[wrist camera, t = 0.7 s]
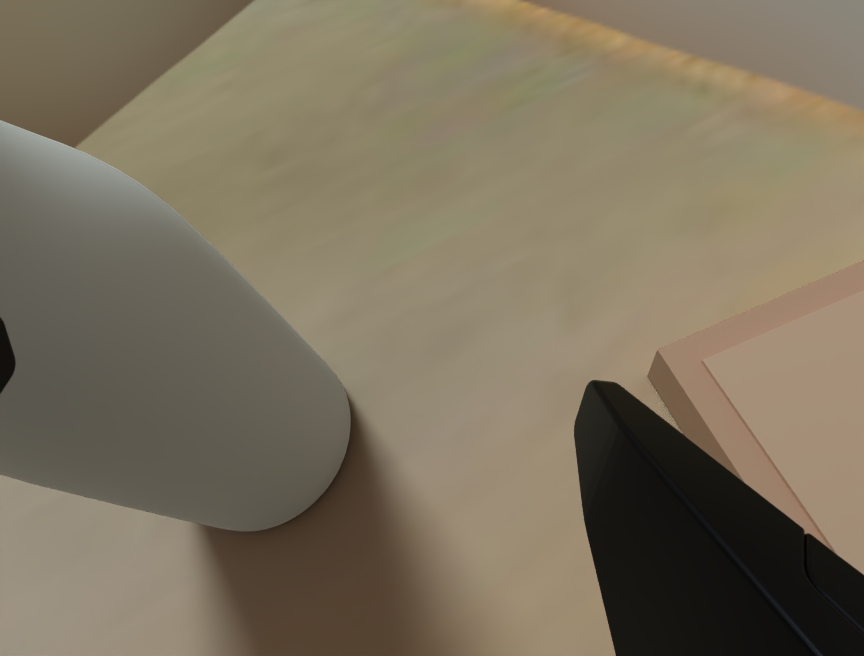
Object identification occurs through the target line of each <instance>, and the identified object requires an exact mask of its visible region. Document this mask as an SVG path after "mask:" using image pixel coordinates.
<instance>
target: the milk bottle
mask: <svg viewBox="0 0 864 656" xmlns="http://www.w3.org/2000/svg"><path fill="white" fill-rule="evenodd" d="M0 317H1V319H2V320H3V321H4V324H5V327H6V330H7V333H8V336H9V339H10V343H11V346H12V349H13V352H14V355H15V359H16V366H15V371H14V373H13V375H12V377H11V379H10V380H9V382H8V383H7V385H6V386H5V388H4V389H3V391H2V392H1V394H0V475H4V476H7V477H11V478H14V479H18V480H21V481H24V482H28V483H31V484H35V485H39V486H43V487H47V488H51V489H55V490H59V491H64V492H68V493H72V494H76V495H80V496H84V497H88V498H92V499H96V500H100V501H104V502H108V503H112V504H116V505H120V506H125V507H129V508H133V509H137V510H142V511H146V512H150V513H155V514H159V515H163V516H167V517H172V518H176V519H180V520H185V521H189V522H193V523H198V524H202V525H207V526H211V527H216V528H220V529H226V530H233V531H242V532H250V531H260V530H265V529H269V528H272V527H275V526H278V525H281V524H283V523H285V522H287V521H289V520H291V519H293V518H294V517H296V516H298V515H299V514H301V513H302V512H303V511H305V510H306V509H307V508H308V507H310V506H311V505H312V504H313V503H314V502H315V501H316V500H317V499H318V498H319V497H320V496H321V495H322V494H323V493H324V492H325V490H326V489H327V488H328V487H329V485H330V484H331V482H332V480H333V479H334V477H335V476H336V474H337V473H338V471H339V469H340V466H341V464H342V462H343V459H344V457H345V454H346V450H347V446H348V442H349V436H350V427H351V416H350V407H349V403H348V398H347V395H346V393H345V390H344V388H343V386H342V384H341V382H340V380H339V379H338V377H337V376H336V374H335V373H334V372H333V371H332V370H331V368H330V367H329V366H328V365H327V364H326V362H325V361H324V360H323V359H322V358H321V357H320V356H319V355H318V354H317V353H316V352H315V351H314V350H313V348H312V347H311V346H310V345H309V344H308V343H307V342H306V341H305V340H304V339H303V338H302V337H301V336H300V335H299V334H298V333H297V332H296V331H295V330H294V329H293V327H292V326H291V325H290V324H289V323H288V322H287V321H286V320H285V319H284V318H283V317H282V316H281V315H280V314H279V313H278V312H277V311H276V310H275V309H274V308H273V307H272V306H271V304H270V303H269V302H268V301H267V300H266V299H265V298H264V297H263V296H262V295H261V294H260V293H259V292H258V291H257V290H256V289H255V288H254V287H253V286H252V285H251V284H250V283H249V282H248V281H247V280H246V279H245V278H244V277H243V276H242V275H241V274H240V273H239V272H238V271H237V270H236V269H235V268H234V267H233V266H232V265H231V264H230V263H229V262H228V261H227V260H226V259H225V258H224V257H223V256H222V254H221V253H220V252H219V251H218V250H217V249H216V248H214V247H213V246H212V245H211V244H210V243H209V242H208V241H207V240H206V239H205V238H204V237H203V236H202V235H201V234H200V233H199V232H198V231H197V230H195V229H194V228H193V227H192V226H191V225H190V224H189V223H188V222H187V221H186V220H185V219H184V218H183V217H182V216H181V215H179V214H178V213H177V212H176V211H175V210H174V209H173V208H172V207H171V206H169V205H168V204H167V203H165V202H164V201H163V200H162V199H160V198H159V197H158V196H156V195H155V194H154V193H152V192H151V191H150V190H149V189H147V188H146V187H144V186H143V185H142V184H140V183H139V182H137V181H136V180H134V179H132V178H131V177H129V176H128V175H126V174H124V173H123V172H121V171H120V170H118V169H116V168H114V167H112V166H110V165H108V164H106V163H104V162H102V161H101V160H99V159H97V158H95V157H93V156H91V155H89V154H87V153H84V152H82V151H79V150H77V149H74V148H72V147H70V146H67V145H65V144H62V143H60V142H57V141H54V140H51V139H49V138H46V137H43V136H40V135H38V134H35V133H32V132H29V131H27V130H24V129H22V128H19V127H17V126H14V125H11V124H8V123H6V122H4V121H1V120H0Z"/></svg>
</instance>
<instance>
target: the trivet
mask: <svg viewBox="0 0 864 656" xmlns="http://www.w3.org/2000/svg"><path fill="white" fill-rule="evenodd" d="M647 376H648V378H649V379H650V381H651V382H652V384H653V386H654V387H655V389H656V390H657V392H658V394H659V395H660V397H661V398H662V400H663V402H664V403H665V405H666V406H667V408H668V410H669V411H670V413H671V414H672V416H673V418H674V419H675V421H676V422H677V424H678V426H679V427H680V429H681V430H682V432H683V434H684V435H685V436H686V437H687V438H688V439H689V440H691V441H692V442H693V443H695V444H696V445H697V446H698V447H700V448H701V449H702V450H704V451H705V452H706V453H707V454H709V455H710V456H711V457H713V458H714V459H715V460H716V461H718V462H719V463H720V464H722V465H723V466H724V467H725V468H727V469H728V470H729V471H731V472H732V473H733V474H734V475H736V476H737V477H738V478H740V479H741V480H742V481H743V482H745V483H746V484H747V485H748V486H750V487H751V488H752V489H754V490H755V491H756V492H757V493H759V494H760V495H761V496H763V497H764V498H765V499H766V500H768V501H769V502H770V503H772V504H773V505H774V506H775V507H777V508H778V509H779V510H781V511H782V512H783V513H784V514H786V515H787V516H788V517H790V518H791V519H792V520H793V521H795V522H796V523H797V524H799V525H800V526H801V527H802V528H803V529H804V530H805V534H806V533H810V534H812V535H813V536H814V537H815V538H817V539H818V540H819V541H821V542H822V543H823V544H824V545H826V546H827V547H828V548H829V549H831V550H832V551H833V552H834V553H836V554H837V555H838V556H840V557H841V558H842V559H844V560H845V561H846V562H848V563H849V564H850V565H852V566H853V567H854V568H856V569H857V570H858V571H860V572H861V573H862V574H863V575H864V260H863V261H861V262H859V263H856V264H854V265H852V266H850V267H847V268H845V269H843V270H840V271H838V272H836V273H833V274H831V275H829V276H826V277H824V278H822V279H819V280H817V281H815V282H812V283H810V284H808V285H806V286H803V287H801V288H799V289H796V290H794V291H792V292H789V293H787V294H785V295H782V296H780V297H778V298H775V299H773V300H771V301H768V302H766V303H764V304H762V305H759V306H757V307H755V308H752V309H750V310H748V311H745V312H743V313H741V314H738V315H736V316H734V317H731V318H729V319H727V320H725V321H722V322H720V323H718V324H715V325H713V326H711V327H708V328H706V329H704V330H701V331H699V332H697V333H694V334H692V335H690V336H687V337H685V338H683V339H681V340H678V341H676V342H674V343H671V344H669V345H667V346H664V347H662V348H660V349H657V352H656V355H655V357H654V360H653V362H652V365H651V368H650V370H649V373H648V375H647Z"/></svg>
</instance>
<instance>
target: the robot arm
mask: <svg viewBox="0 0 864 656" xmlns="http://www.w3.org/2000/svg"><path fill="white" fill-rule="evenodd" d="M15 366H16V359H15V355H14V352H13V349H12V346H11V343H10V339H9V336H8V333H7V330H6V327H5V324H4V321H3V320H2V319H1V317H0V394H1V392H2V391H3V389H4V388H5V386H6V385H7V383H8V382H9V380H10V379H11V377H12V375H13V373H14V371H15ZM574 438H575V447H576V456H577V464H578V473H579V482H580V491H581V499H582V508H583V515H584V522H585V526H586V531H587V536H588V540H589V544H590V548H591V553H592V557H593V561H594V565H595V569H596V574H597V578H598V582H599V586H600V590H601V595H602V599H603V603H604V607H605V611H606V616H607V620H608V624H609V628H610V632H611V637H612V641H613V645H614V649H615V653H616V656H864V575H863V574H862V573H861V572H860V571H858V570H857V569H856V568H854V567H853V566H852V565H850V564H849V563H848V562H846V561H845V560H844V559H842V558H841V557H840V556H838V555H837V554H836V553H834V552H833V551H832V550H831V549H829V548H828V547H827V546H826V545H824V544H823V543H822V542H821V541H819V540H818V539H817V538H815V537H814V536H813V535H812V534H810V533H806V534H805V530H804V529H803V528H802V527H801V526H800V525H799V524H797V523H796V522H795V521H793V520H792V519H791V518H790V517H788V516H787V515H786V514H784V513H783V512H782V511H781V510H779V509H778V508H777V507H775V506H774V505H773V504H772V503H770V502H769V501H768V500H766V499H765V498H764V497H763V496H761V495H760V494H759V493H757V492H756V491H755V490H754V489H752V488H751V487H750V486H748V485H747V484H746V483H745V482H743V481H742V480H741V479H740V478H738V477H737V476H736V475H734V474H733V473H732V472H731V471H729V470H728V469H727V468H725V467H724V466H723V465H722V464H720V463H719V462H718V461H716V460H715V459H714V458H713V457H711V456H710V455H709V454H707V453H706V452H705V451H704V450H702V449H701V448H700V447H698V446H697V445H696V444H695V443H693V442H692V441H691V440H689V439H688V438H687V437H686V436H684V435H683V434H682V433H680V432H679V431H678V430H677V429H675V428H674V427H673V426H672V425H670V424H669V423H668V422H666V421H665V420H664V419H663V418H661V417H660V416H659V415H657V414H656V413H655V412H654V411H652V410H651V409H650V408H648V407H647V406H646V405H645V404H643V403H642V402H641V401H639V400H638V399H637V398H636V397H634V396H633V395H632V394H630V393H629V392H628V391H627V390H625V389H624V388H623V387H621V386H620V385H619V384H617V383H615V382H608V381H599V380H592V381H590V382H589V383H588V385H587V386H586V389H585V392H584V395H583V398H582V401H581V404H580V408H579V411H578V414H577V417H576V420H575V425H574Z"/></svg>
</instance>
